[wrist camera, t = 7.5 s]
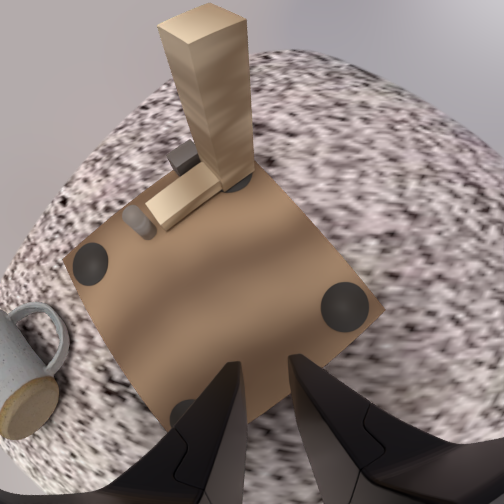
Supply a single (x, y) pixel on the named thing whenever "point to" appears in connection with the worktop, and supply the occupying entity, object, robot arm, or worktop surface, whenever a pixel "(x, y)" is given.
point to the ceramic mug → (27, 374)
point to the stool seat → (217, 292)
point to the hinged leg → (208, 105)
